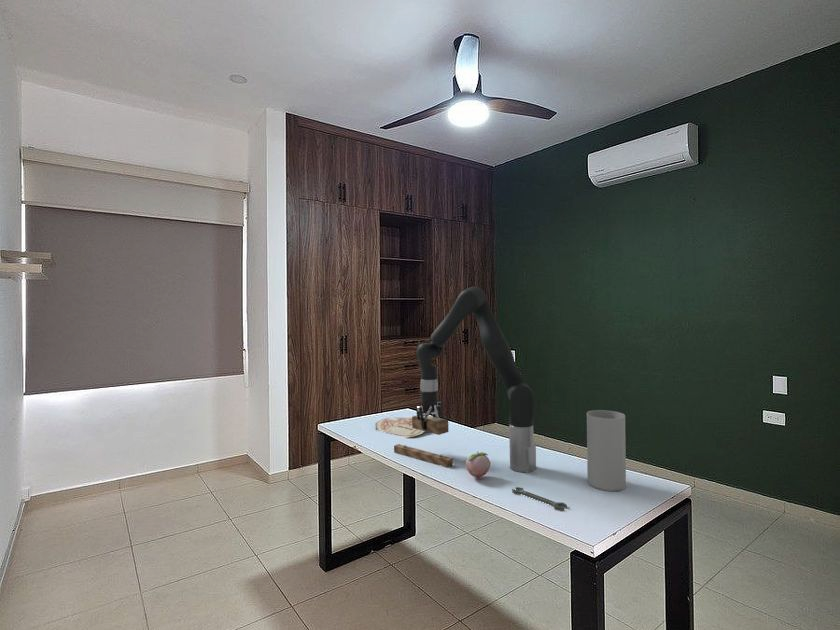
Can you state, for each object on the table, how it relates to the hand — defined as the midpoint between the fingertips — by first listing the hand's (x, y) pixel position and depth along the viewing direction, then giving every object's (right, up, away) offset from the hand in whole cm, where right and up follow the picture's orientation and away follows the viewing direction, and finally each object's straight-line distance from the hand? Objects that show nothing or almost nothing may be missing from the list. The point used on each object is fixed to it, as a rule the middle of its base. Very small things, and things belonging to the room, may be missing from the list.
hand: (429, 428), depth 193 cm
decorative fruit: (+17, -12, -26) cm, 33 cm away
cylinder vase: (+62, -12, -34) cm, 72 cm away
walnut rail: (-3, -12, -4) cm, 13 cm away
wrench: (+35, -13, -45) cm, 58 cm away
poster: (-11, -12, +44) cm, 47 cm away
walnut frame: (0, -1, 0) cm, 1 cm away
